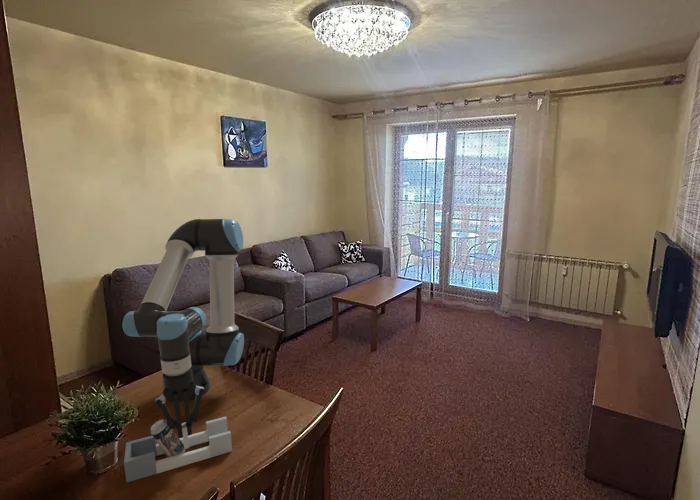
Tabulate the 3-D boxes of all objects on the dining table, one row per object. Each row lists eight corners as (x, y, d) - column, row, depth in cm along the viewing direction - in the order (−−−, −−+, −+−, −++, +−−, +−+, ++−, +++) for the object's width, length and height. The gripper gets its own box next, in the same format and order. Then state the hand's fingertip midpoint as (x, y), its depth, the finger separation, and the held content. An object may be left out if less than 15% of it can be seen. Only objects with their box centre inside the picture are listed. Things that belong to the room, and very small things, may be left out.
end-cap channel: (128, 460, 111) (126, 442, 110) (227, 433, 123) (226, 416, 121) (126, 482, 103) (123, 462, 102) (232, 451, 115) (230, 433, 114)
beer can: (180, 462, 109) (158, 431, 105) (167, 463, 110) (145, 432, 106) (189, 447, 113) (169, 417, 109) (177, 448, 115) (156, 418, 111)
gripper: (151, 382, 102) (162, 461, 106) (203, 370, 108) (211, 446, 112) (151, 370, 109) (161, 445, 113) (200, 359, 114) (208, 431, 118)
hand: (186, 445), depth 112 cm, fingers closed
